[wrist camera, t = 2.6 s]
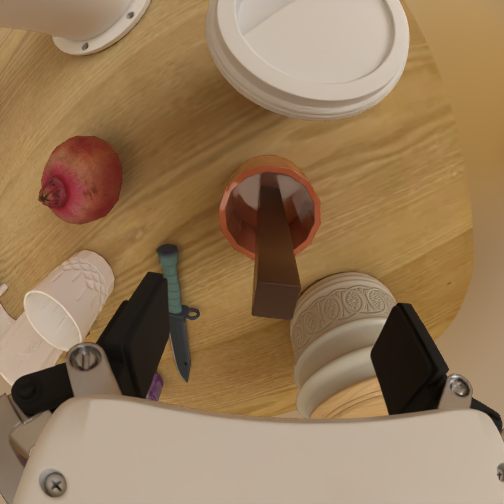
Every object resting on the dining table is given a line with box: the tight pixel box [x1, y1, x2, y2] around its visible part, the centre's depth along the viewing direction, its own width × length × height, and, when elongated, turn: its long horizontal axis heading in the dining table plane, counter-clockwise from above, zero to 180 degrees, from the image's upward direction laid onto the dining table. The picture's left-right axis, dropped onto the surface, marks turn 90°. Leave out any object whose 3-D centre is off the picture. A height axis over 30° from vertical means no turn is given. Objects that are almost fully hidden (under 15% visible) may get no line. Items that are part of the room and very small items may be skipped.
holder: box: [218, 155, 321, 260], centre depth 24 cm, size 8×8×6 cm
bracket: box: [0, 283, 63, 386], centre depth 33 cm, size 25×10×12 cm, turn 30°
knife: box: [156, 244, 200, 382], centre depth 34 cm, size 23×2×5 cm
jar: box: [290, 272, 396, 419], centre depth 25 cm, size 13×13×18 cm
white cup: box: [24, 250, 115, 352], centre depth 27 cm, size 8×8×10 cm
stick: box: [252, 186, 301, 320], centre depth 19 cm, size 2×2×16 cm
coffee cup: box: [205, 0, 409, 121], centre depth 14 cm, size 10×10×15 cm
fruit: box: [39, 136, 122, 224], centre depth 21 cm, size 8×8×10 cm
